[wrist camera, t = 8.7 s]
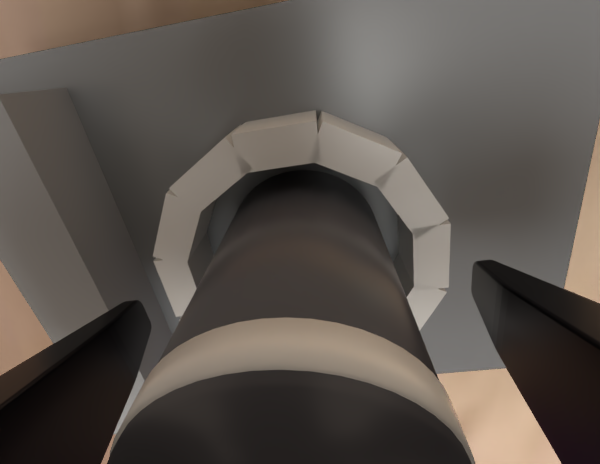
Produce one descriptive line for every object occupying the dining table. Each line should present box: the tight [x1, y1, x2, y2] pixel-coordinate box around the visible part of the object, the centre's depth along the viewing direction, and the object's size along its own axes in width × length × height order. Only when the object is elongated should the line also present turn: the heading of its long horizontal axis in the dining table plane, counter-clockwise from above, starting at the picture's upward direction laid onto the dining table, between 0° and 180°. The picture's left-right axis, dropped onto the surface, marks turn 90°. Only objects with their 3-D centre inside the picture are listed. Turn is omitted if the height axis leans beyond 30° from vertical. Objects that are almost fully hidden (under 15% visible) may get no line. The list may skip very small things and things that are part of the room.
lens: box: [107, 170, 475, 464], centre depth 8 cm, size 5×5×8 cm
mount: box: [0, 0, 600, 434], centre depth 12 cm, size 18×14×5 cm
